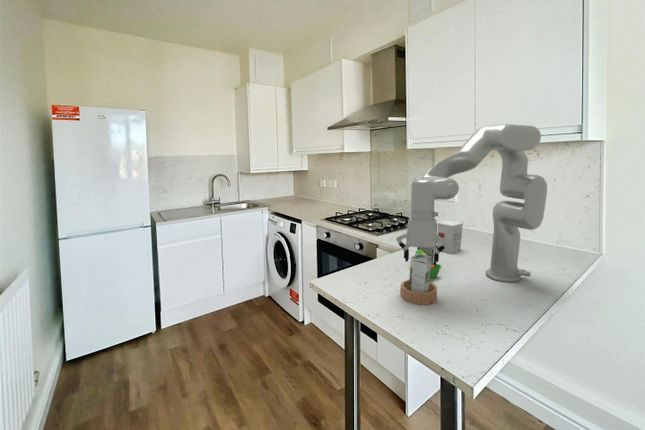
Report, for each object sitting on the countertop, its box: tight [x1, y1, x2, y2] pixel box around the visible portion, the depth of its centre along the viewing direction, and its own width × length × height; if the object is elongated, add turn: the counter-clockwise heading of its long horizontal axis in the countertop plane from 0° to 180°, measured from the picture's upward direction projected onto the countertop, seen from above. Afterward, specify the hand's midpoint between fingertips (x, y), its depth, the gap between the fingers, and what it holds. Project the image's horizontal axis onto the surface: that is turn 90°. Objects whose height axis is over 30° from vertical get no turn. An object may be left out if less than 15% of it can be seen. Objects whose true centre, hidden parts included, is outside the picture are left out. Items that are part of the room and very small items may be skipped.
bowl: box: [399, 279, 438, 306], centre depth 115 cm, size 12×12×4 cm
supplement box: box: [436, 219, 464, 255], centre depth 165 cm, size 9×9×15 cm
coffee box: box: [416, 247, 435, 263], centre depth 142 cm, size 9×6×16 cm
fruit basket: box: [414, 249, 442, 280], centre depth 131 cm, size 11×9×11 cm
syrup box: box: [408, 254, 432, 293], centre depth 114 cm, size 6×6×14 cm
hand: (420, 261), depth 113 cm, fingers open, 9 cm apart
